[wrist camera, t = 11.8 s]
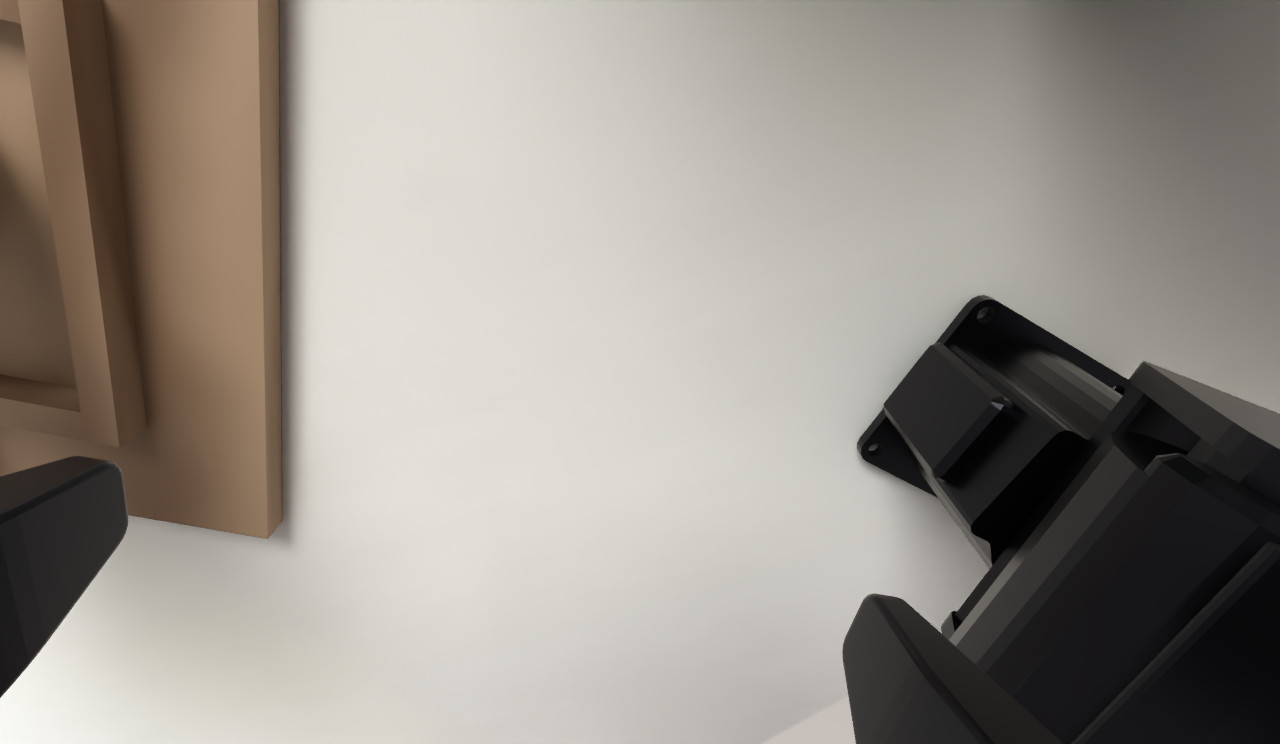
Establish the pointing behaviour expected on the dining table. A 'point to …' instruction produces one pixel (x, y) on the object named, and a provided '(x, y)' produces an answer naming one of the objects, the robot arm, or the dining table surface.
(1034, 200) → the dining table surface
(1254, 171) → the dining table surface
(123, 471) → the walnut bottle stand
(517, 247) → the dining table surface
